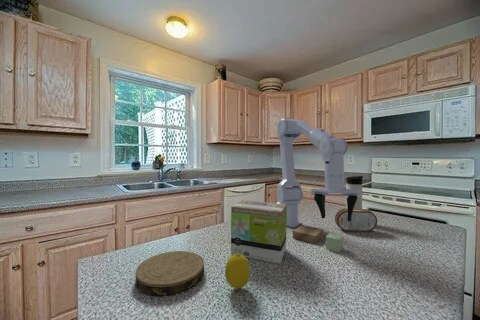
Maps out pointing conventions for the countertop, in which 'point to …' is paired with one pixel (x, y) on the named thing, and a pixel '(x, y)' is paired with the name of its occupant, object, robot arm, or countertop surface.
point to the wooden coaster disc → (169, 273)
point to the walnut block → (308, 234)
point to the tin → (356, 220)
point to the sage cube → (334, 242)
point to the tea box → (259, 230)
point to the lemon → (237, 271)
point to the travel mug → (355, 184)
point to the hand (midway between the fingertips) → (336, 219)
